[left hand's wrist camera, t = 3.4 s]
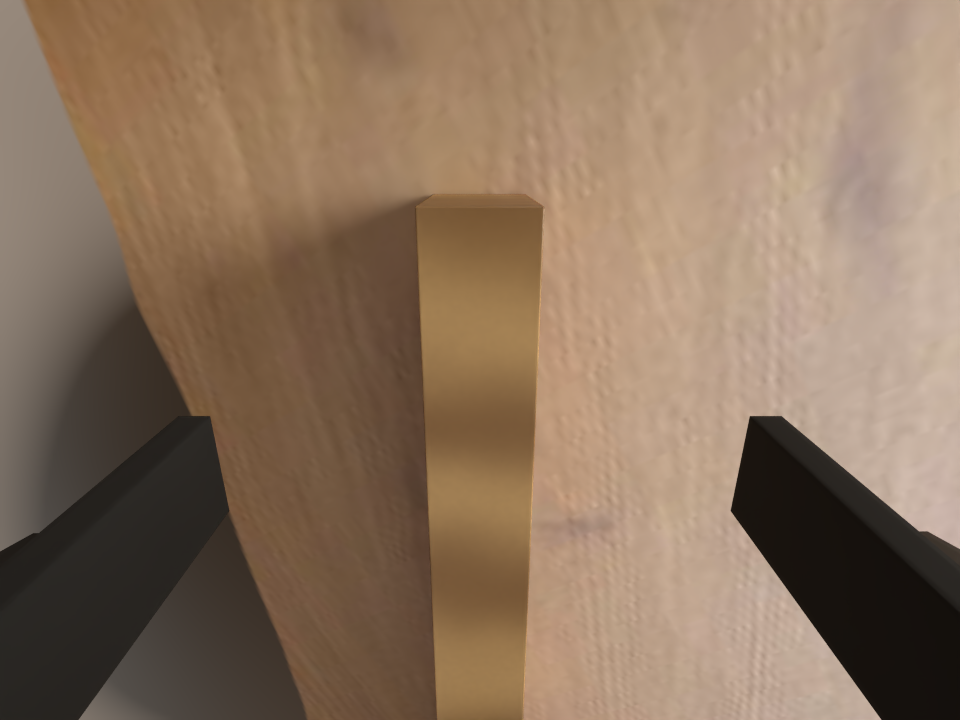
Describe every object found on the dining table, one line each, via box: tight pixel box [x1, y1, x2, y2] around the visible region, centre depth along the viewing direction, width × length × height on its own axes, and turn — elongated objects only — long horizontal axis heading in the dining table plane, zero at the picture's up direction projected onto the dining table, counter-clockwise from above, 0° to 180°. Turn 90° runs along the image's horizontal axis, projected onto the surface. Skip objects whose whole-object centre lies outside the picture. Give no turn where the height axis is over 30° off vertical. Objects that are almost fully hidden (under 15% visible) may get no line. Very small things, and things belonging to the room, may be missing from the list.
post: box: [415, 194, 544, 720], centre depth 31 cm, size 54×4×7 cm, turn 0°
